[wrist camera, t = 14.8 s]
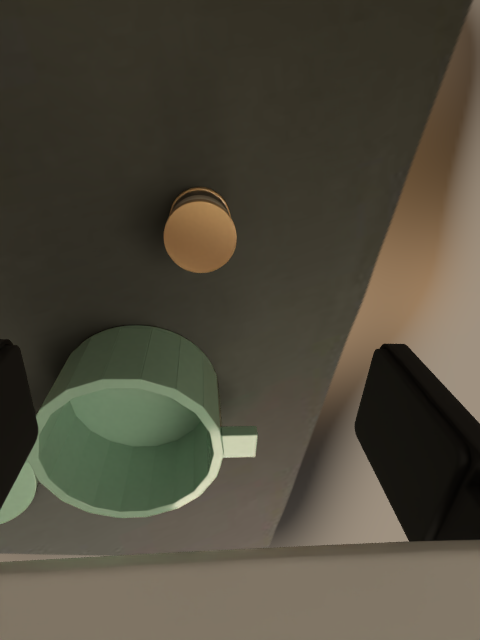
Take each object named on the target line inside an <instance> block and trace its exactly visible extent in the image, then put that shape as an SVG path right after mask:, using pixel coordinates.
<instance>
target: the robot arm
mask: <svg viewBox="0 0 480 640" xmlns="http://www.w3.org/2000/svg"><path fill="white" fill-rule="evenodd" d="M355 432H356V435H357V438H358V440H359V442H360V444H361V446H362V448H363V450H364V452H365V454H366V456H367V458H368V460H369V462H370V464H371V466H372V468H373V470H374V472H375V474H376V476H377V478H378V480H379V482H380V484H381V486H382V488H383V490H384V492H385V494H386V496H387V498H388V500H389V502H390V504H391V506H392V508H393V510H394V512H395V514H396V516H397V518H398V520H399V522H400V524H401V526H402V528H403V530H404V532H405V534H406V536H407V538H408V540H409V542H388V543H366V544H343V545H321V546H298V547H279V548H278V547H277V548H257V549H236V550H216V551H197V552H177V553H158V554H138V555H120V556H102V557H84V558H68V559H49V560H31V561H13V562H0V640H480V424H479V423H478V421H477V420H476V419H475V418H474V417H473V416H472V415H471V414H470V413H469V412H468V411H467V410H466V409H465V407H464V406H463V405H462V404H461V403H460V402H459V401H458V400H457V399H456V398H455V397H454V396H453V395H452V394H451V392H450V391H449V390H448V389H447V388H446V387H445V386H444V385H443V384H442V383H441V382H440V381H439V380H438V379H437V378H436V376H435V375H434V374H433V373H432V372H431V371H430V370H429V369H428V368H427V367H426V366H425V365H424V364H423V362H422V361H421V360H420V359H419V358H418V357H417V356H416V355H415V354H414V353H413V352H412V351H411V349H410V348H409V347H408V346H407V345H405V344H383V345H382V346H381V347H380V349H376V350H375V352H374V354H373V358H372V361H371V365H370V369H369V373H368V376H367V380H366V384H365V388H364V391H363V395H362V399H361V402H360V406H359V410H358V413H357V417H356V421H355ZM37 437H38V423H37V419H36V415H35V410H34V406H33V402H32V397H31V393H30V389H29V385H28V380H27V376H26V372H25V367H24V363H23V359H22V354H21V350H20V348H19V347H18V346H17V345H13V343H12V342H11V341H10V340H8V339H0V510H1V508H2V506H3V504H4V502H5V500H6V498H7V496H8V494H9V492H10V490H11V489H12V487H13V485H14V483H15V481H16V479H17V477H18V475H19V473H20V471H21V469H22V467H23V466H24V464H25V462H26V460H27V458H28V456H29V454H30V452H31V450H32V448H33V446H34V444H35V443H36V440H37Z"/></svg>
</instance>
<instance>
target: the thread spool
mask: <svg viewBox="0 0 480 640" xmlns="http://www.w3.org/2000/svg"><path fill="white" fill-rule="evenodd" d="M236 241H237V235H236V229H235V226H234V223H233V220H232V218H231V216H230V211H229V208H228V205H227V203H226V202H225V200H224V199H223V198H222V197H221V196H220V195H219V194H218V193H217V192H215V191H214V190H211V189H209V188H205V187H193V188H190V189H187V190H185V191H183V192H182V193H181V194H180V195H178V197H177V198H176V199H175V200H174V202H173V204H172V207H171V210H170V215H169V217H168V219H167V222H166V225H165V228H164V244H165V248H166V250H167V252H168V254H169V256H170V257H171V259H172V260H173V261H174V262H175V263H176V264H177V265H178V266H180V267H182V268H183V269H185V270H188V271H191V272H195V273H206V272H211V271H214V270H216V269H218V268H220V267H222V266H223V265H224V264H225V263H226V262H227V261H228V260H229V259H230V258H231V256H232V254H233V252H234V250H235V247H236Z"/></svg>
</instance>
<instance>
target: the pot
mask: <svg viewBox="0 0 480 640" xmlns="http://www.w3.org/2000/svg"><path fill="white" fill-rule="evenodd" d="M36 419H37V423H38V437H37V440H36V443H35V444H34V446H33V448H32V450H31V452H30V454H29V456H28V458H27V460H26V462H25V463H29V464H30V465H31V467H32V469H33V471H34V473H35V475H36V477H37V479H38V481H40V483H41V484H42V485H44V486H45V487H46V488H47V489H48V490H49V491H51V492H52V493H53V494H54V495H55V496H57V497H58V498H59V499H60V500H61V501H63V502H66V503H68V504H70V505H73V506H75V507H77V508H79V509H82V510H84V511H86V512H89V513H94V514H99V515H105V516H110V517H116V518H131V517H149V516H153V515H157V514H160V513H164V512H167V511H171V510H175V509H178V508H180V507H182V506H183V505H185V504H187V503H188V502H190V501H192V500H194V499H195V498H197V497H199V496H200V495H201V494H202V493H203V492H204V491H205V490H206V489H207V487H208V486H209V485H210V484H211V483H212V482H213V480H214V479H215V478H216V477H217V476H218V472H219V469H220V466H221V463H222V459H223V458H234V457H255V455H256V447H257V438H258V433H257V427H256V426H234V427H222V417H221V404H220V393H219V387H218V380H217V375H216V373H215V370H214V368H213V366H212V364H211V362H210V361H209V359H208V358H207V357H206V355H205V354H204V353H203V352H202V351H201V350H200V349H199V348H198V347H197V346H196V345H194V344H193V343H192V342H190V341H189V340H187V339H185V338H184V337H182V336H180V335H178V334H176V333H173V332H171V331H168V330H165V329H161V328H157V327H152V326H142V325H131V326H121V327H115V328H112V329H108V330H105V331H102V332H100V333H98V334H95V335H93V336H92V337H90V338H88V339H87V340H85V341H84V342H83V343H81V344H80V345H79V346H78V347H77V348H76V349H75V350H74V351H73V352H72V353H71V354H70V356H69V357H68V359H67V361H66V363H65V365H64V366H63V368H62V370H61V372H60V374H59V375H58V377H57V379H56V381H55V383H54V384H53V386H52V388H51V390H50V392H49V393H48V395H47V397H46V399H45V401H44V402H43V404H42V406H41V408H40V410H39V411H38V413H37V415H36Z"/></svg>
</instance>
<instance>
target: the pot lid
mask: <svg viewBox="0 0 480 640" xmlns="http://www.w3.org/2000/svg"><path fill="white" fill-rule="evenodd" d="M37 487H38V479H37V477H36V475H35V473H34V471H33V469H32V467H31V465H30V464H29V463H25V464H24V466H23V467H22V469H21V471H20V473H19V475H18V477H17V479H16V481H15V483H14V485H13V487H12V489H11V490H10V492H9V494H8V496H7V498H6V500H5V502H4V504H3V506H2V508H1V510H0V524H2V523H5V522H8V521H10V520H11V519H13V518H15V517H17V516H18V515H20V514H21V513H22V512H23V511H24V510H25V509H26V508H27V507H28V506H29V505H30V503H31V502H32V500H33V498H34V496H35V494H36V491H37Z"/></svg>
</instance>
